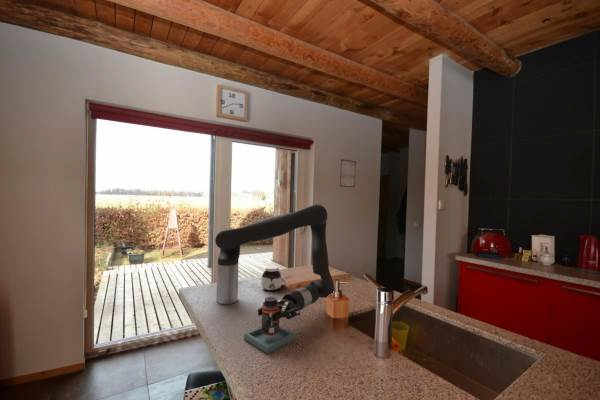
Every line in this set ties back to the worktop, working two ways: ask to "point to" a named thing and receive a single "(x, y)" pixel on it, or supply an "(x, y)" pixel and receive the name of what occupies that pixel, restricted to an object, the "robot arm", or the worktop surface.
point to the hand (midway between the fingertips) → (265, 315)
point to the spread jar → (272, 279)
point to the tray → (269, 339)
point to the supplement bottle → (270, 316)
